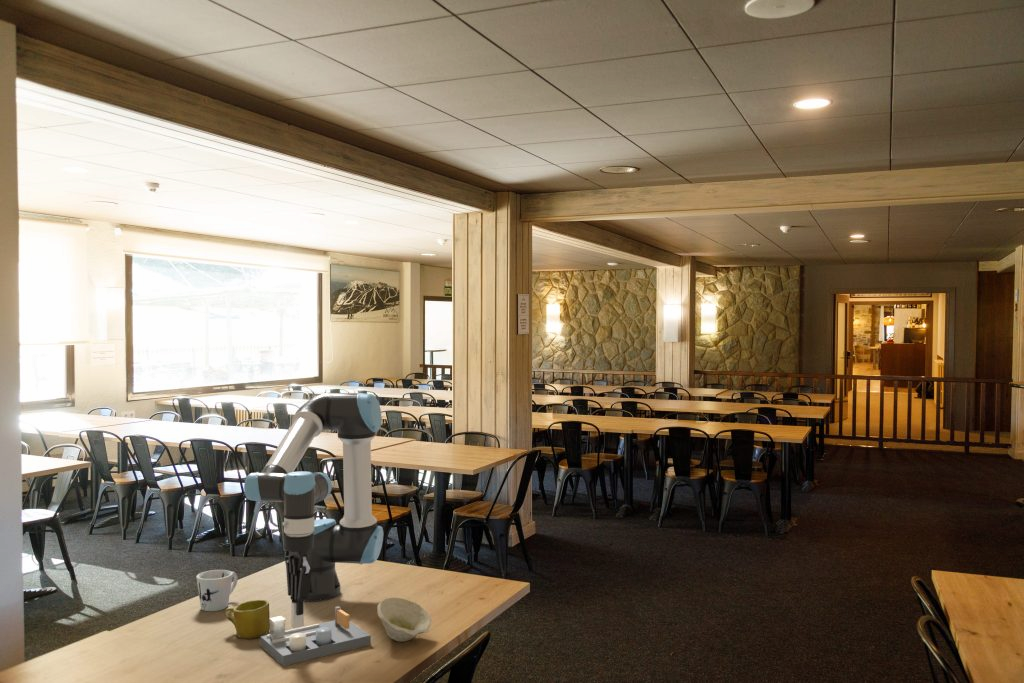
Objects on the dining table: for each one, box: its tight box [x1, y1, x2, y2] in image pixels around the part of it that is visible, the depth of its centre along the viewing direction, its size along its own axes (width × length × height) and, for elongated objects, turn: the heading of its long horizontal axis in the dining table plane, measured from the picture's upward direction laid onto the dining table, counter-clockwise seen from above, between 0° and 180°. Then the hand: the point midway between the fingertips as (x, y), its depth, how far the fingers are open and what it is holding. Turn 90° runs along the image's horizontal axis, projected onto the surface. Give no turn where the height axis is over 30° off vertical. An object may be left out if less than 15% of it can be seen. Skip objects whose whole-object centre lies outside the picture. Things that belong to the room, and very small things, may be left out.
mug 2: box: [224, 599, 271, 640], centre depth 218 cm, size 12×10×10 cm
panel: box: [260, 619, 372, 667], centre depth 210 cm, size 16×24×3 cm, turn 127°
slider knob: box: [269, 615, 287, 640], centre depth 207 cm, size 3×3×5 cm
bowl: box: [376, 597, 432, 643], centre depth 214 cm, size 15×14×10 cm
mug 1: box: [196, 569, 239, 612], centre depth 241 cm, size 10×15×10 cm
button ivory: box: [290, 633, 306, 652], centre depth 201 cm, size 4×4×3 cm
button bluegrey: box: [316, 627, 332, 646], centre depth 206 cm, size 4×4×3 cm
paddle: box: [334, 606, 350, 629], centre depth 215 cm, size 7×1×5 cm, turn 37°
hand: (297, 626), depth 201 cm, fingers closed
